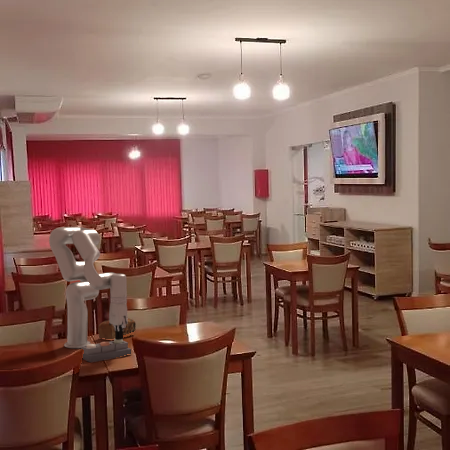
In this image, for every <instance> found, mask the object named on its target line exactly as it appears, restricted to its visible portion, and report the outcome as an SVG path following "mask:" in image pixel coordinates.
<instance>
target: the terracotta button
mask: <svg viewBox="0 0 450 450" xmlns="http://www.w3.org/2000/svg"><path fill="white" fill-rule="evenodd" d="M109 342H110V341H102V342H100V345H101V346H107V345H110V343H109Z"/></svg>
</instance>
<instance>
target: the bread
mask: <svg viewBox="0 0 450 450" xmlns="http://www.w3.org/2000/svg"><path fill="white" fill-rule="evenodd" d="M136 326H137V325H136V321H135V320H134V319H133V318H132V319H131V318H128V323H127V324H126V328H124V329H123V335H126V334H129V333H131V332H134V331H135V332H136V331H137V330H136V328H137V327H136ZM97 332H98V337H99V338H98V339H100V338H105V339H114V338H115V328H114V326H113V325H112V324H111V323H110V322H109V319H108V320H104V321H102V322H101V323H100V324H99V325H98V330H97Z"/></svg>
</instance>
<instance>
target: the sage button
mask: <svg viewBox="0 0 450 450" xmlns="http://www.w3.org/2000/svg"><path fill="white" fill-rule="evenodd" d="M123 339H124V338H123ZM123 339H119V340H117V339H114V343H115V344H119V343H123V341H124V340H123Z"/></svg>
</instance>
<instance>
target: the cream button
mask: <svg viewBox="0 0 450 450" xmlns="http://www.w3.org/2000/svg"><path fill="white" fill-rule="evenodd" d="M96 344H97V343H90V344H88V345H87V348H95V347H96Z"/></svg>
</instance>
